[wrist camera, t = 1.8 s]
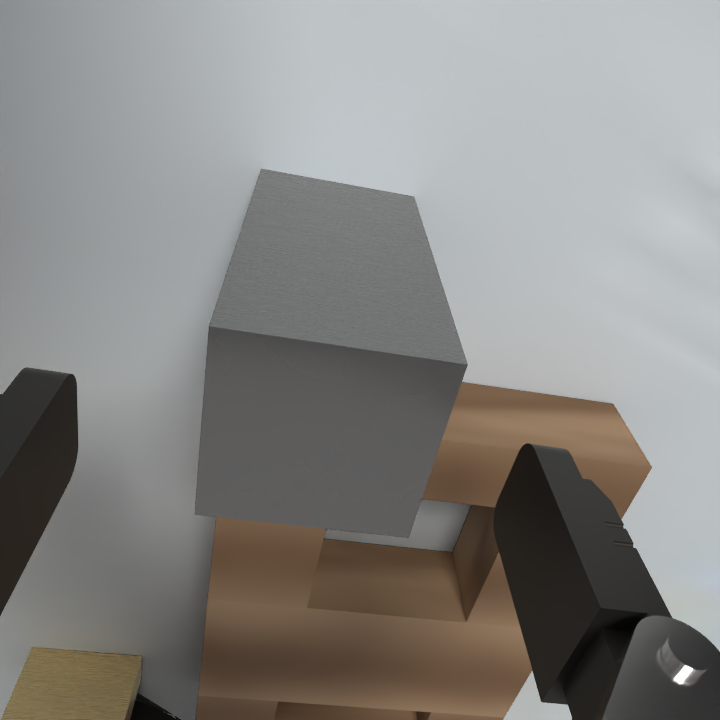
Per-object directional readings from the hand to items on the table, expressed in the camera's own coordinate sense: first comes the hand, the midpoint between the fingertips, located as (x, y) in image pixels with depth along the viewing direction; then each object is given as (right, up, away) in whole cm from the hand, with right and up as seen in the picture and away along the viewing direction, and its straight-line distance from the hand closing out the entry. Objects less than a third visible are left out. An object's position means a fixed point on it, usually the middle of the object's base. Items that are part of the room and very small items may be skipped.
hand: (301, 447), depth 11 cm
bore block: (+2, -6, +13) cm, 15 cm away
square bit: (0, +4, +6) cm, 7 cm away
